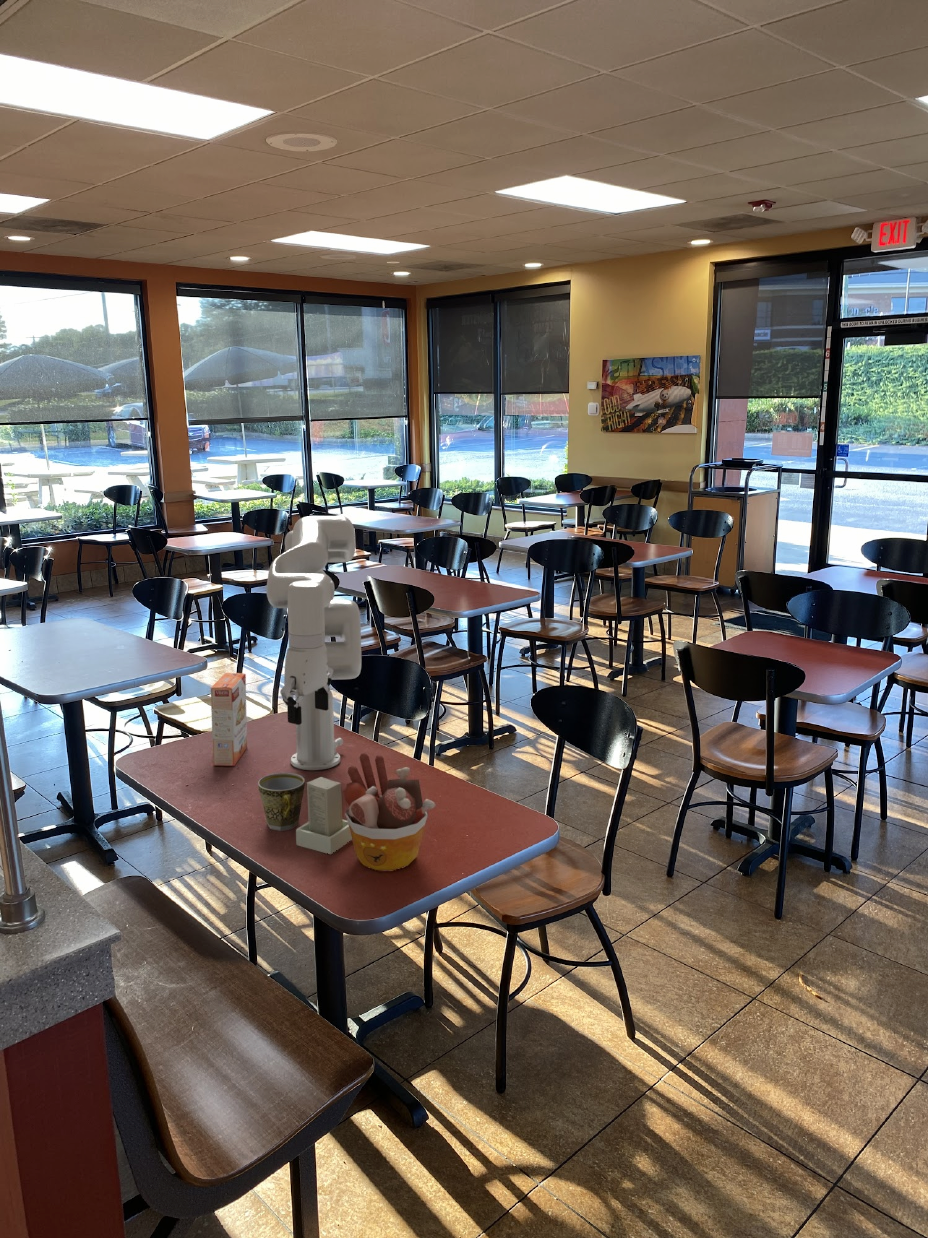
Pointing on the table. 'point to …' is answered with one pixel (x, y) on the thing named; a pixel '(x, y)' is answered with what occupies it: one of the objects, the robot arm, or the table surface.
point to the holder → (323, 838)
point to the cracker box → (229, 719)
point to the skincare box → (324, 806)
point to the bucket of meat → (385, 816)
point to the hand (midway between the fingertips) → (308, 716)
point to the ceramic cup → (282, 799)
